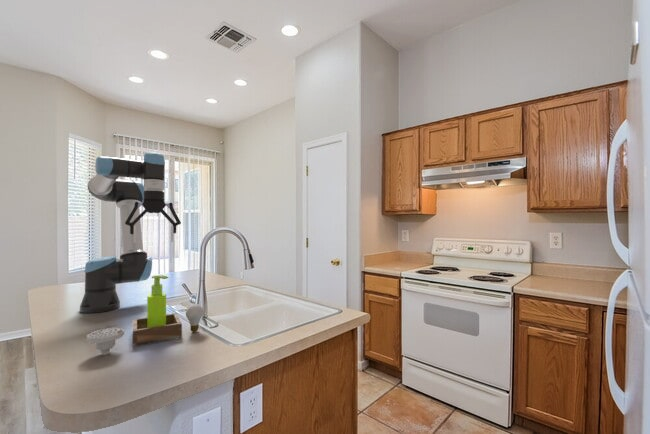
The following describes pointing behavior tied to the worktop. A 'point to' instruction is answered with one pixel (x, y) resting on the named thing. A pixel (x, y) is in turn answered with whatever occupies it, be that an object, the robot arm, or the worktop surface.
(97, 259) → the robot arm
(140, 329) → the wooden box
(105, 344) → the showerhead
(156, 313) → the soap dispenser
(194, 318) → the light bulb
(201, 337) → the worktop surface
